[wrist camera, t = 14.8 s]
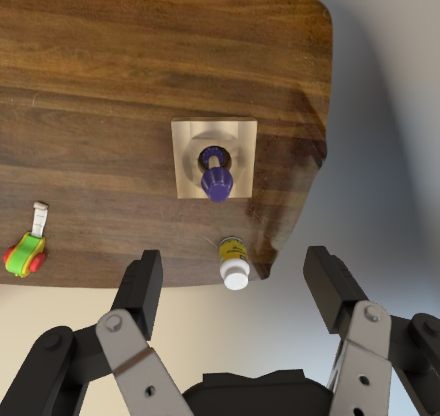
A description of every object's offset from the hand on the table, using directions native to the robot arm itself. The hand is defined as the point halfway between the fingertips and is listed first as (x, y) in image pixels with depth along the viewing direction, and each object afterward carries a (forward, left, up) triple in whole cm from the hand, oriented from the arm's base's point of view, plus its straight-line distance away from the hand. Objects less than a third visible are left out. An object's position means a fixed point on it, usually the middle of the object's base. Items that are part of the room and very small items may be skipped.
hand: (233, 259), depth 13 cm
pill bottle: (-4, +28, -36) cm, 45 cm away
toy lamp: (0, +6, -36) cm, 36 cm away
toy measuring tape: (+39, +24, -36) cm, 58 cm away
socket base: (0, +6, -35) cm, 36 cm away
